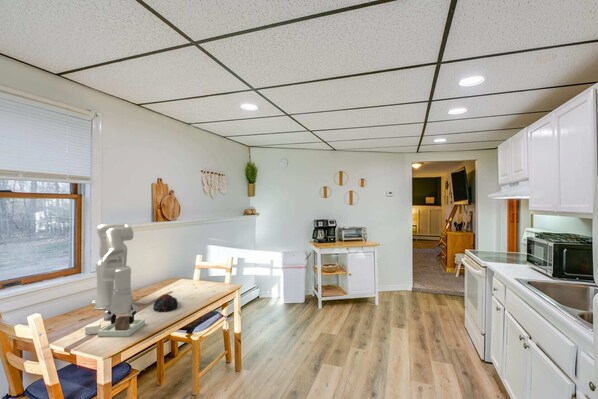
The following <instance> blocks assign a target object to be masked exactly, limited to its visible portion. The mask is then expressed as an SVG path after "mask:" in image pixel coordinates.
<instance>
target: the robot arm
mask: <svg viewBox="0 0 598 399" xmlns="http://www.w3.org/2000/svg"><path fill="white" fill-rule="evenodd" d="M96 234H97V236H98V237H99V251H98V252H99V254H98V255H99V258H100V259H99V260H97V262H96V263H95V266H94V267H95V273H96V299H94V300H93V299H92V301H91V304H92V305H93V309H94V310H97V311H98V310H107V311H108V314H109V315H110V317H111V320H110V323H111V324H114V323H115V319H117V315H129V316H130V317H129V324H131V323H133V322H134V319H135V315H136V314H137V313H138V311H139V309H140V307H139V306H137V305H136V304H134V299H133V293H132V292H131V290H132V289H131V282H132V281H131V280H132V279H131V276H132V269H131V267H130V266H129V265H127V259H128V246H127V244H125V243H124V242H125V241H126V242H127V241H132V240H133V239H134V234H135V233H134V230H133V228H132V226H131V225H129V224H128V223H105V224H103V223H101V224H99V225H98V226H97V227H96Z"/></svg>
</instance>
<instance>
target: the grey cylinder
mask: <svg viewBox="0 0 598 399" xmlns="http://www.w3.org/2000/svg"><path fill="white" fill-rule="evenodd" d="M103 321H111V317H110V315H109V314H108V311H107V310H106V309H104V310H103Z"/></svg>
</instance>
